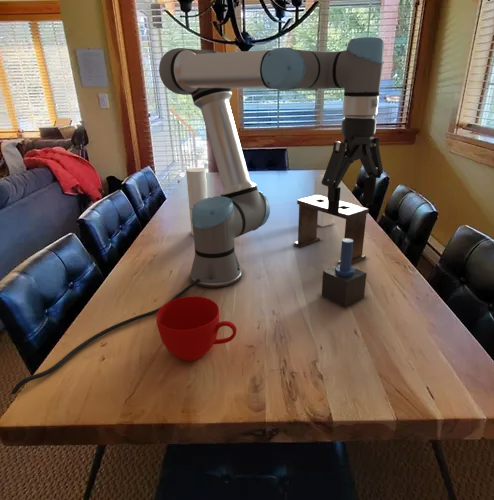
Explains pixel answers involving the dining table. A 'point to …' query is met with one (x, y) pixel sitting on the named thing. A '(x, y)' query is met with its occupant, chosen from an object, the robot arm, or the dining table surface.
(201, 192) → the cylindrical container
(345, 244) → the peg
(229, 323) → the ceramic cup
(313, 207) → the stand
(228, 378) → the dining table surface
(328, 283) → the holder
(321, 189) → the milk
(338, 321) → the dining table surface
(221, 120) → the robot arm
